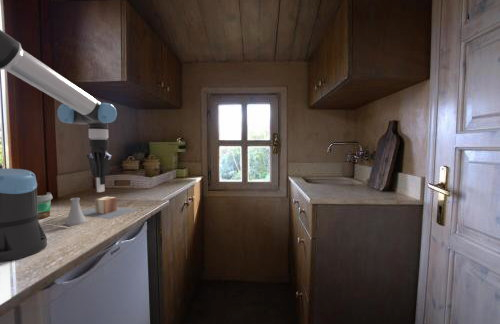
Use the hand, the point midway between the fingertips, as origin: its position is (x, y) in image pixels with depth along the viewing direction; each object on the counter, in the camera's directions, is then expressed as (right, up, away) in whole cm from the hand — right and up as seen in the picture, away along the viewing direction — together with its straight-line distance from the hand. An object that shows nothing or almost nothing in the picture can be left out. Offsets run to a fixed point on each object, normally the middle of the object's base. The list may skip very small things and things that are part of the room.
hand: (100, 191), depth 115 cm
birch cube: (0, -6, 0) cm, 6 cm away
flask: (0, -11, -16) cm, 20 cm away
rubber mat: (+3, -10, 0) cm, 10 cm away
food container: (-18, -10, -11) cm, 23 cm away
